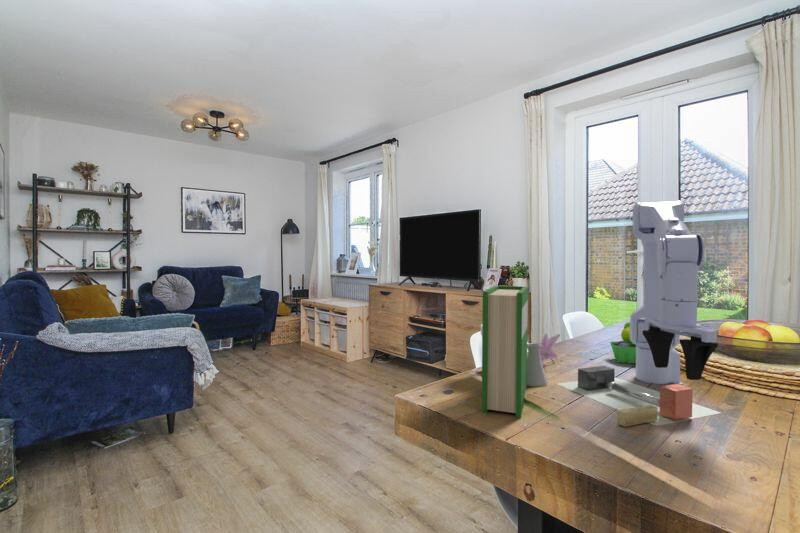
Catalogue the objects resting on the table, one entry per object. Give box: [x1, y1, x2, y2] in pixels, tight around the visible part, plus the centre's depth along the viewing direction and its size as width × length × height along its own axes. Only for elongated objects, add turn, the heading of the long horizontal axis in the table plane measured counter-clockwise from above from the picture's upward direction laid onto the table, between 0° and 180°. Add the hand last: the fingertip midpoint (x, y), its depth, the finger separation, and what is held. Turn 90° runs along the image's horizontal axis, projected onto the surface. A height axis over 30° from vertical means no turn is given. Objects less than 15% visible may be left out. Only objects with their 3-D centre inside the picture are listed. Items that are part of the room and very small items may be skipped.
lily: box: [527, 333, 561, 366], centre depth 112 cm, size 12×12×10 cm
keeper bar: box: [616, 405, 658, 428], centre depth 72 cm, size 8×2×2 cm, turn 110°
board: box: [556, 376, 722, 427], centre depth 86 cm, size 18×25×1 cm
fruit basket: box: [609, 321, 636, 364], centre depth 119 cm, size 11×9×11 cm
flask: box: [527, 342, 549, 387], centre depth 96 cm, size 7×7×10 cm
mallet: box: [608, 382, 694, 420], centre depth 81 cm, size 4×16×5 cm, turn 20°
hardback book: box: [481, 285, 529, 419], centre depth 86 cm, size 18×7×24 cm, turn 159°
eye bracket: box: [577, 365, 616, 391], centre depth 92 cm, size 8×3×4 cm, turn 110°
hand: (676, 372), depth 75 cm, fingers open, 7 cm apart
